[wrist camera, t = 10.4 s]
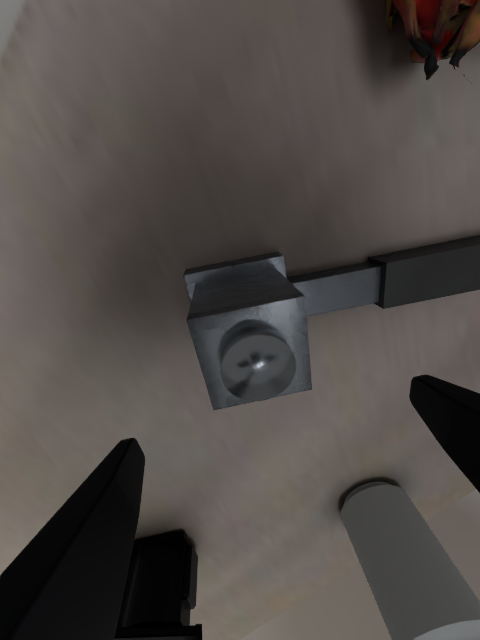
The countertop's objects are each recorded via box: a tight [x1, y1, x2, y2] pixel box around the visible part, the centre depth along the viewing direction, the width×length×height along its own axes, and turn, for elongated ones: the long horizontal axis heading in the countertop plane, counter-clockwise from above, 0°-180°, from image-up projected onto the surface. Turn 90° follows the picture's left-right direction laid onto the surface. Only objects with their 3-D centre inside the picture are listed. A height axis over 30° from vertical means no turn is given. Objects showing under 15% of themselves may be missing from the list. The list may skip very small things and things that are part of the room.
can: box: [341, 482, 480, 640], centre depth 23 cm, size 8×8×12 cm
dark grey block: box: [187, 269, 312, 410], centre depth 13 cm, size 5×5×6 cm
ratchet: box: [183, 235, 480, 316], centre depth 15 cm, size 20×6×4 cm, turn 100°
